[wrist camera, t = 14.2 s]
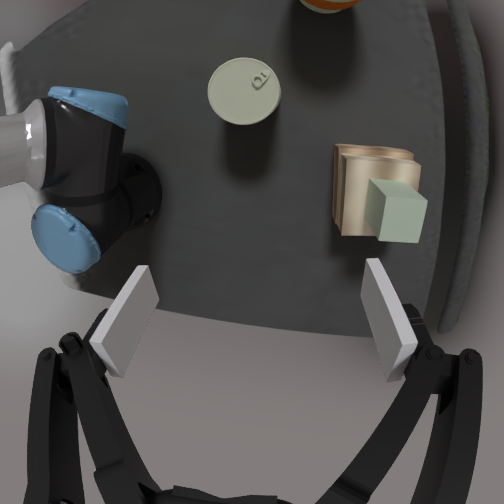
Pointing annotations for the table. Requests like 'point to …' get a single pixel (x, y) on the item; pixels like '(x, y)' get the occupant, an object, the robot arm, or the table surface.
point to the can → (244, 91)
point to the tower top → (356, 186)
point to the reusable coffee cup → (328, 5)
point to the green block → (394, 211)
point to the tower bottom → (364, 151)
